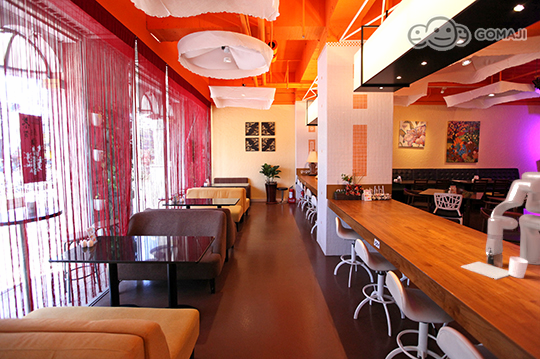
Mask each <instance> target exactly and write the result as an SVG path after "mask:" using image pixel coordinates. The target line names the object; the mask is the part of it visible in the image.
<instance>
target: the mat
mask: <svg viewBox="0 0 540 359" xmlns="http://www.w3.org/2000/svg"><path fill="white" fill-rule="evenodd" d="M460 268H463V269H466V270H468V271H471V272H473V273H476V274H479V275H481V276H485V277H488V278H491V279H493V278H494V279H493V280H495V281H496V280H500V279H503V278H507V277H509V276H511V275H510V274H509V270H507V269H503V268H502V267H501V268H500V267H497V266H494V265H490V264H487V263H484V262H481V261H476V262H471V263H469V264H464V265H461V266H460Z"/></svg>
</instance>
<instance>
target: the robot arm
mask: <svg viewBox="0 0 540 359" xmlns="http://www.w3.org/2000/svg"><path fill="white" fill-rule="evenodd" d="M526 197H527V198H526ZM524 200H526V203H525V210H526V211H527V212H529V214H528V213H527V214H526V213H525V214H522V215H521V216H520V217H519V218H518V220H519V221H517V219H515V218H513V217H509V216H503V214H504V213H505V212H506V211H507V210H509V209H512V208H517V207H521V206H523V204H524ZM530 213H533V214H530ZM536 214H539V215H536ZM518 223H519V224H518ZM518 225H519V227H520V239H519V240H520V243H519V244H520V245H519V246H520V247H519V249H520V250H519V256H517V257H519V258H522V259H525V260H527V261H528V265H539V266H540V171H525V172H524V173H522V174H521V179H515V180H513V181H512V183H511V185H510V188H509V191H508V192H507V195H506V198H505V199H504V201H502V202H501V203H499V204H498V205H496V206H495V208H493V210H492V212H491V214H490V217H488V219H487V238H486V244H485V254H486V259H487V258H488V265H490V264H491V266H494V259H493V258H494V255H496V254H501V255H503V252H504V249H503V248H504V247H503V239H504V236H503V235H504V230H514V229H516V228H517V227H518ZM491 253H492V254H491ZM491 255H492V256H491Z"/></svg>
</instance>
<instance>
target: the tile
mask: <svg viewBox="0 0 540 359" xmlns="http://www.w3.org/2000/svg"><path fill="white" fill-rule="evenodd" d="M491 254H492V253H491ZM491 256H492V255H491ZM503 257H504V256H503V254H496V255H494V258H493V259H494V265H493V266H494V267H498V268H501V269H502V268H503V260H504V259H503ZM485 264H488V258H487V257H486V263H485ZM488 265H491V264H488ZM491 266H492V265H491Z"/></svg>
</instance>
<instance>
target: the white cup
mask: <svg viewBox="0 0 540 359" xmlns="http://www.w3.org/2000/svg"><path fill="white" fill-rule="evenodd" d="M528 265H529V264H528V261H527V260H525V259H522V258H519V257H518V256H509V263H508V271H509V274H510V275H509V276H511V277H514V278H518V279H523V278H524V277H525V274H526V271H527V267H528Z"/></svg>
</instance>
